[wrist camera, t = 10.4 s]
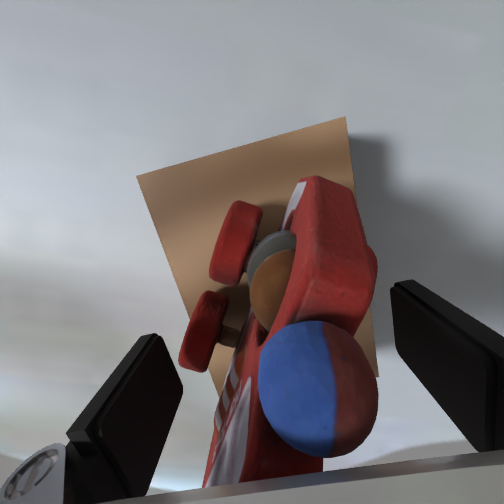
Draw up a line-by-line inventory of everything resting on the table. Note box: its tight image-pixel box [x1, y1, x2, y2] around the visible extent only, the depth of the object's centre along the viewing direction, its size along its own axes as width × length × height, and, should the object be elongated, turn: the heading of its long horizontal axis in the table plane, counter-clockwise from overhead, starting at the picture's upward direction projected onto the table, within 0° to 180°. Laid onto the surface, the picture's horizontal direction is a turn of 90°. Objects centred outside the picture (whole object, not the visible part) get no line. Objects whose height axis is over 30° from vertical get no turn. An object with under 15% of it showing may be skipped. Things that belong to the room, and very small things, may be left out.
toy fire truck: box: [178, 175, 378, 488], centre depth 9 cm, size 7×12×10 cm, turn 160°
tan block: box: [136, 116, 379, 398], centre depth 16 cm, size 16×11×4 cm
